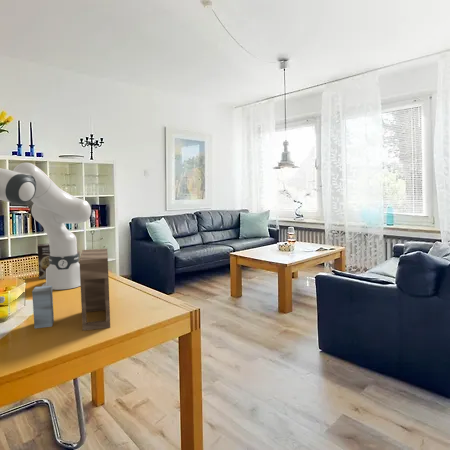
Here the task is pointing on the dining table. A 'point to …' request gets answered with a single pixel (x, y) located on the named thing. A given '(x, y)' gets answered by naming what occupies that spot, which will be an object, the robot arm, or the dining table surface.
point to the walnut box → (94, 286)
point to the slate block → (43, 306)
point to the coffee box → (43, 259)
